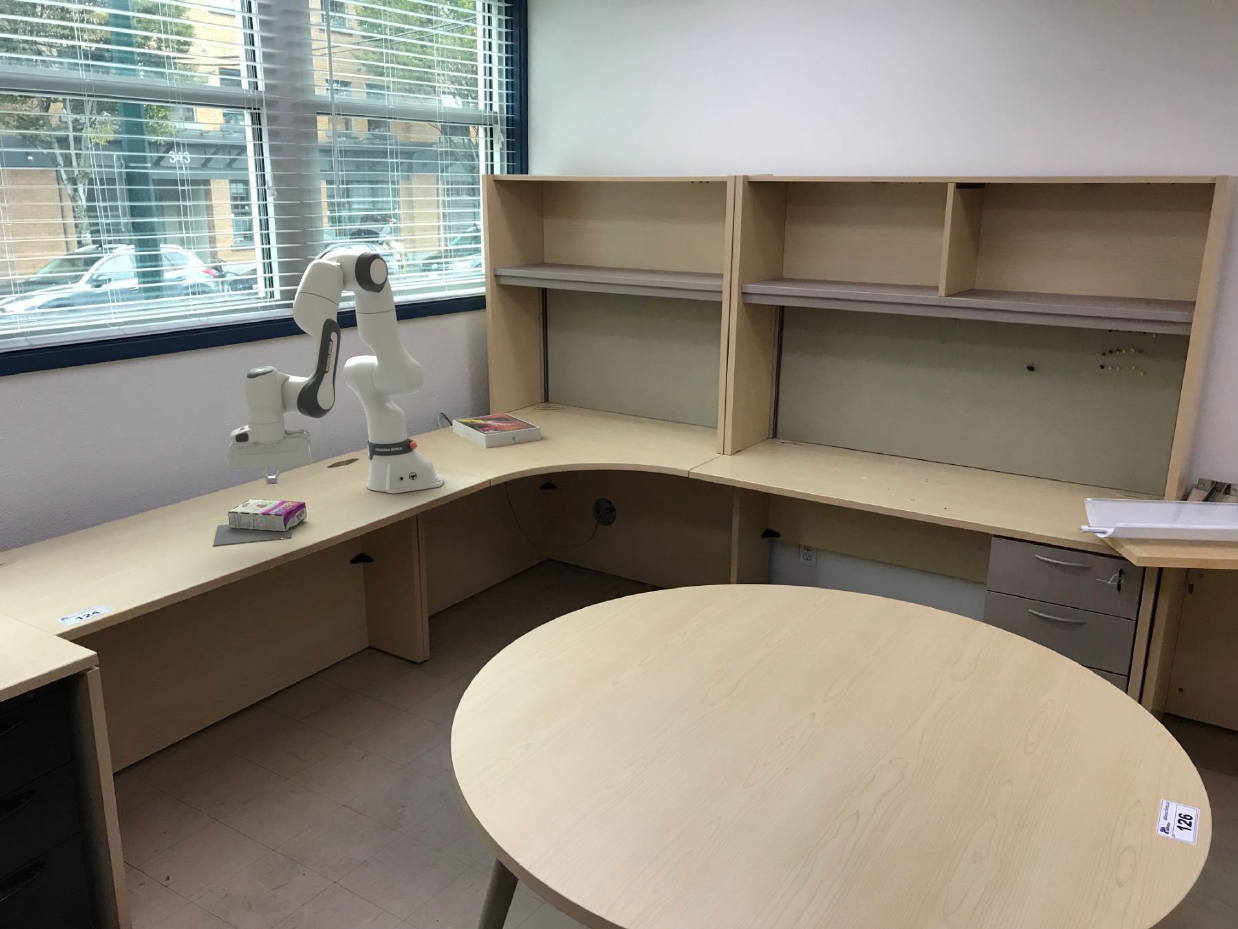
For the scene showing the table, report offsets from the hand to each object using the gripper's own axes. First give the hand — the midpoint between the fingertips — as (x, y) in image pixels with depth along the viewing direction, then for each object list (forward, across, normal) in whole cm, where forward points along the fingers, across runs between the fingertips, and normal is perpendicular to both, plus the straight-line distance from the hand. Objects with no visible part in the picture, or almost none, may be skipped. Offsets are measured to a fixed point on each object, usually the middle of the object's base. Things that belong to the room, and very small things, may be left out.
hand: (272, 483), depth 250 cm
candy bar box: (+10, -5, -1) cm, 11 cm away
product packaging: (+13, -74, -84) cm, 113 cm away
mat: (+13, +6, 0) cm, 14 cm away
